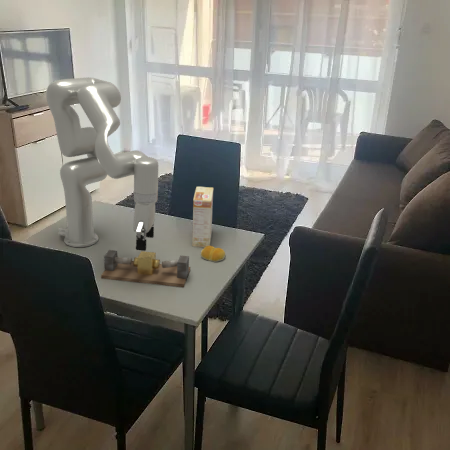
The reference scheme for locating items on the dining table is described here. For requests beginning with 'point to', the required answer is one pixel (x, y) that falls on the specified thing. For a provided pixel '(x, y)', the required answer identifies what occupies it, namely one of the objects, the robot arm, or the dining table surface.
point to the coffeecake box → (202, 216)
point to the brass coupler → (146, 263)
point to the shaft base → (165, 275)
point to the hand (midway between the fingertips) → (145, 243)
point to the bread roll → (213, 254)
